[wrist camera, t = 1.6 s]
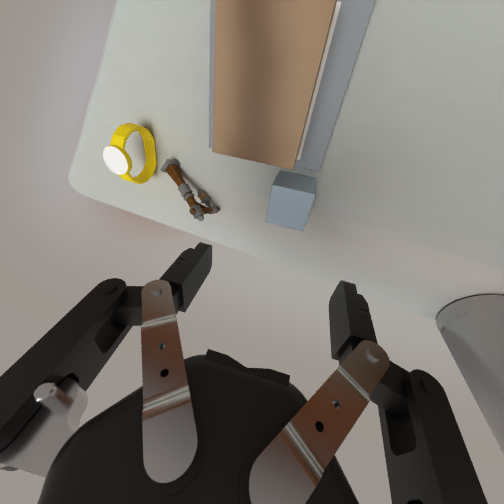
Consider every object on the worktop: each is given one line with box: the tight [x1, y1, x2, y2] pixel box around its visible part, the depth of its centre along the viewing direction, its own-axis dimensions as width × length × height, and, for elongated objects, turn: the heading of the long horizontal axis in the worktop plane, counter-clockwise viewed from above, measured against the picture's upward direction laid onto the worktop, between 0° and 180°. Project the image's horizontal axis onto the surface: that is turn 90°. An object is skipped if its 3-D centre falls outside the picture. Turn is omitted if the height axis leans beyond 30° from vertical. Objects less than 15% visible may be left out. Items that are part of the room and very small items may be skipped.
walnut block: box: [213, 0, 337, 169], centre depth 17 cm, size 7×10×5 cm
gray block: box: [265, 170, 316, 231], centre depth 23 cm, size 4×4×5 cm
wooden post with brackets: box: [160, 159, 219, 221], centre depth 26 cm, size 2×8×4 cm, turn 46°
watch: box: [103, 123, 157, 184], centre depth 24 cm, size 6×3×6 cm, turn 170°
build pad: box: [209, 0, 375, 171], centre depth 19 cm, size 12×12×1 cm
